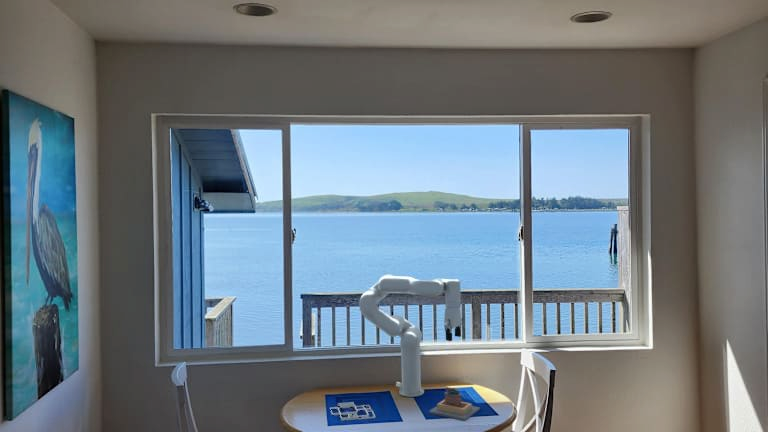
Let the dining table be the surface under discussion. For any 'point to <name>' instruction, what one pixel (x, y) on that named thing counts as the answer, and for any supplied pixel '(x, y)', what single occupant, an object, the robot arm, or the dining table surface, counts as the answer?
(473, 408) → the tan recessed tray
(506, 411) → the dining table surface
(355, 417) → the floor plan model
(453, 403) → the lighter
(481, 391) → the dining table surface
